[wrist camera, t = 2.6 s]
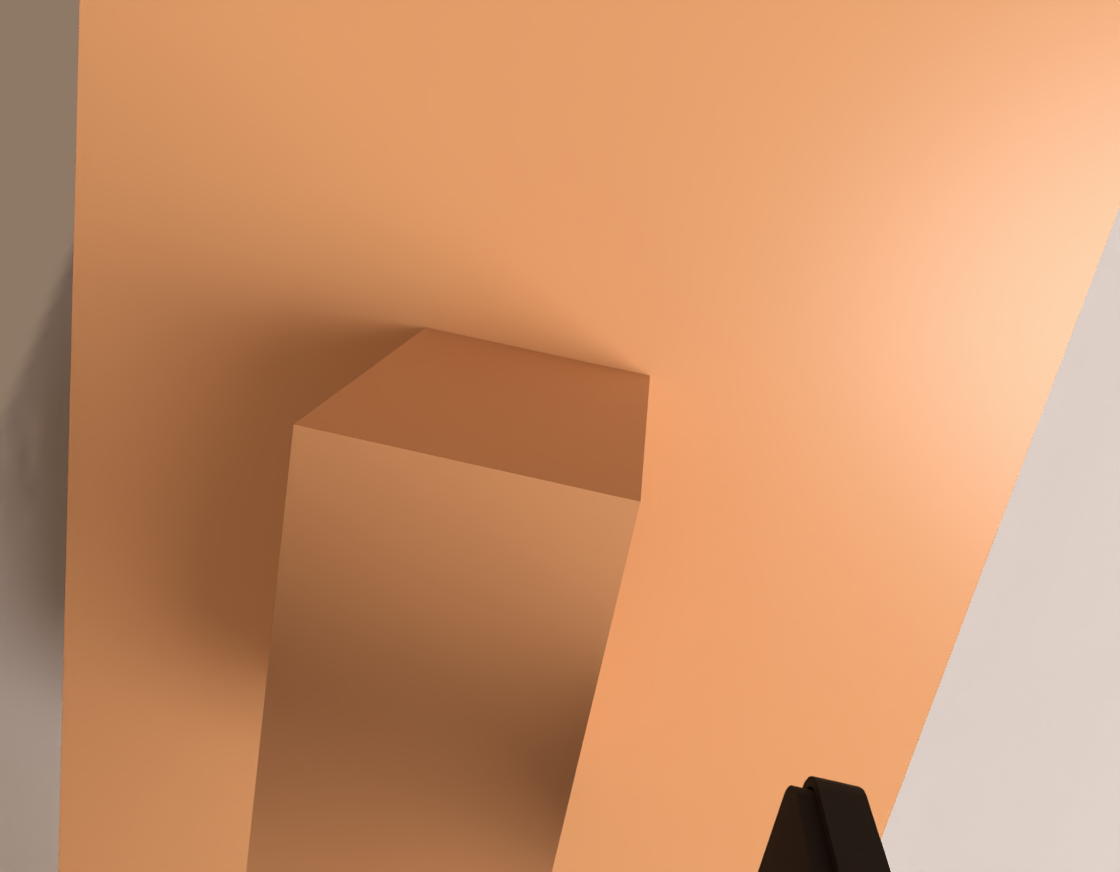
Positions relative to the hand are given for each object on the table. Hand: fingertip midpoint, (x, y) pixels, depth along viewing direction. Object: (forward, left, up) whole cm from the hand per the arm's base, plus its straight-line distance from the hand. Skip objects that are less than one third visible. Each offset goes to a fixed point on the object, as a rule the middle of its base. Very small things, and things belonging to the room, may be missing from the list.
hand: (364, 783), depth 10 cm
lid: (0, 0, -10) cm, 10 cm away
